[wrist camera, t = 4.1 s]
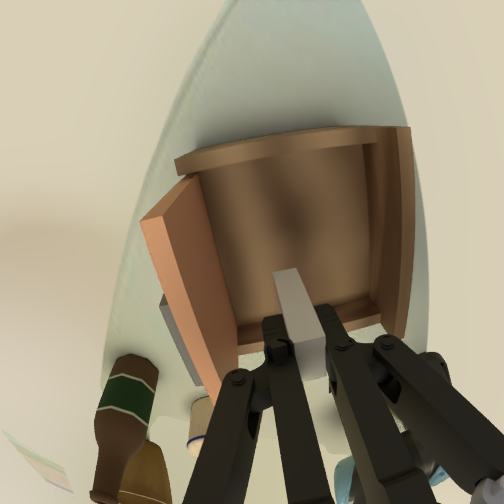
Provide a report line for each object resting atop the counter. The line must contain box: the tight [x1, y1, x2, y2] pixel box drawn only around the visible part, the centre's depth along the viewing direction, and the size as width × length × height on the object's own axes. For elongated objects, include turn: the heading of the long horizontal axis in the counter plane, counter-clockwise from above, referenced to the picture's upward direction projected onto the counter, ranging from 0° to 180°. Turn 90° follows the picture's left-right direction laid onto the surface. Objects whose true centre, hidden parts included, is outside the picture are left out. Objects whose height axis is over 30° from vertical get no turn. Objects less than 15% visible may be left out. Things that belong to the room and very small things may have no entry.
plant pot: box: [117, 440, 172, 504], centre depth 44 cm, size 15×15×16 cm
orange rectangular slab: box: [139, 173, 239, 407], centre depth 19 cm, size 2×15×12 cm, turn 11°
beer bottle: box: [90, 354, 159, 504], centre depth 30 cm, size 8×8×24 cm
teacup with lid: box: [187, 397, 258, 458], centre depth 40 cm, size 12×9×12 cm
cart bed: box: [174, 126, 415, 355], centre depth 26 cm, size 17×18×14 cm
